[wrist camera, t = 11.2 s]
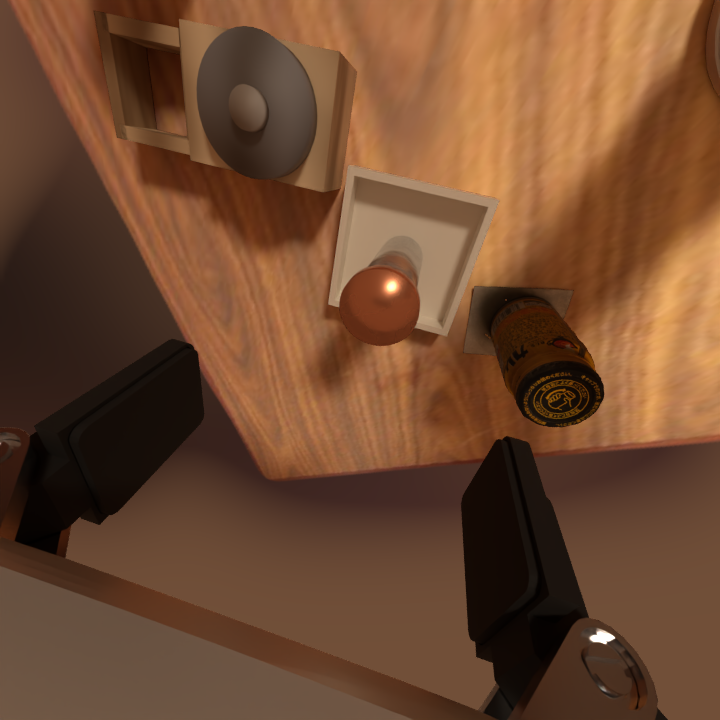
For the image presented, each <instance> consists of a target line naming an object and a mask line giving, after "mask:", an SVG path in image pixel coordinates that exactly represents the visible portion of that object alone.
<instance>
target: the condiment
mask: <svg viewBox="0 0 720 720" xmlns="http://www.w3.org/2000/svg"><path fill="white" fill-rule="evenodd" d="M573 291H574V290H557V289H538V288H509V287H482V286H475V287H474V292H473V297H472V303H471V309H470V315H469V321H468V327H467V333H466V338H465V345H464V351H463V353H470V354H481V355H493V356H497V359H498V361H499V365H500V368H501V372H502V375H503V378H504V381H505V385H506V387H507V389H508V390H509V392H510V393H511V395H513V396H514V398H515V400H516V403H517V405H518V407H519V409H520V411H521V413H522V414H523V416H524V417H526V418H528V419H530V420H531V421H533V422H535V423H536V424H539V425H543V426H548V427H565V426H569V425H575V424H578V423H580V422H582V421H584V420H586V419H587V418H589V417H590V416H592V415H593V414H594V413H595V412H596V411H597V409H598V408H599V406H600V404H601V402H602V401H603V398H604V386H603V383H602V381H601V378H600V377H599V375H598V374H597V373H596V371H595V365H594V361H593V359H592V356H591V354H590V353H589V352H588V350H587V348H586V347H585V346H584V344H583V343H582V342H581V341H580V340H579V339H578V338H577V336H576V334H575V333H574V332H573V331H572V330H571V328H570V327H569V326H568V325H567V323H566V322H565V321H564V317H565V314H566V311H567V308H568V306H569V303H570V300H571V297H572V294H573ZM505 299H507V301H505ZM485 334H487V335H488V336H490V337H491V339H489V338H488V337H487V336H485Z"/></svg>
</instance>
